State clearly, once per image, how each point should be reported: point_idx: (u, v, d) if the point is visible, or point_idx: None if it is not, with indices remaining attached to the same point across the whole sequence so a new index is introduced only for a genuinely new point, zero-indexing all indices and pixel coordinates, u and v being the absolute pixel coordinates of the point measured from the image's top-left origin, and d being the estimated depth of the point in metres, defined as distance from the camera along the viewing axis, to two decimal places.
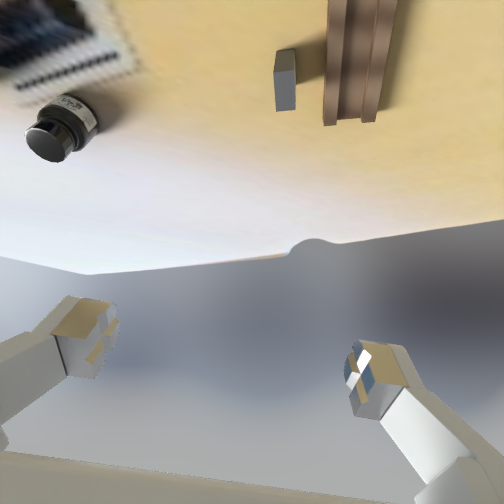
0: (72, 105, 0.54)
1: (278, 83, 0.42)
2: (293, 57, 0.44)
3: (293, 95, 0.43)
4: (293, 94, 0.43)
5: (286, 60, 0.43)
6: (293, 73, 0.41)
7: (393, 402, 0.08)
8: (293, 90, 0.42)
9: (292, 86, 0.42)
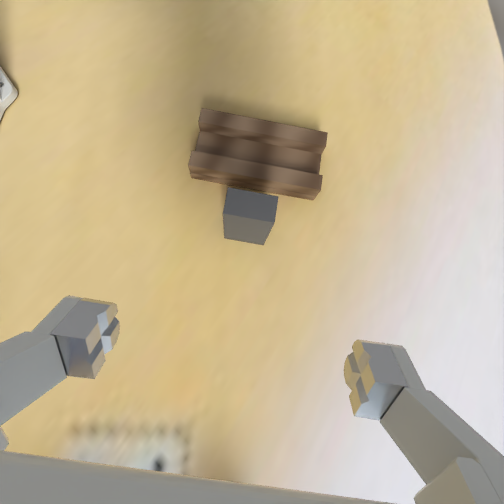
0: None
1: (237, 210, 0.30)
2: None
3: (258, 195, 0.30)
4: (257, 194, 0.30)
5: None
6: (231, 189, 0.30)
7: (393, 402, 0.08)
8: (252, 193, 0.30)
9: (246, 193, 0.30)
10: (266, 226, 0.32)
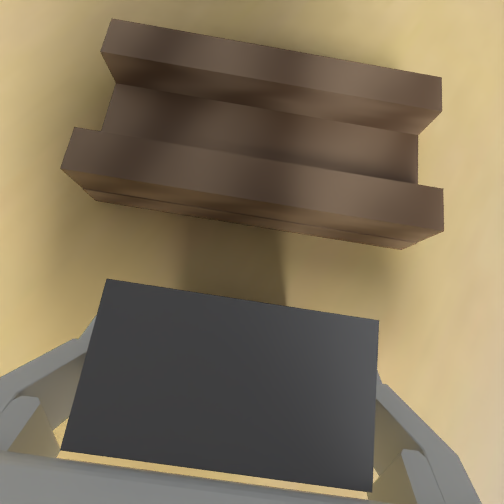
0: None
1: (150, 425, 0.05)
2: None
3: (274, 316, 0.06)
4: (267, 315, 0.06)
5: None
6: (125, 289, 0.06)
7: None
8: (239, 310, 0.06)
9: (209, 312, 0.06)
10: None
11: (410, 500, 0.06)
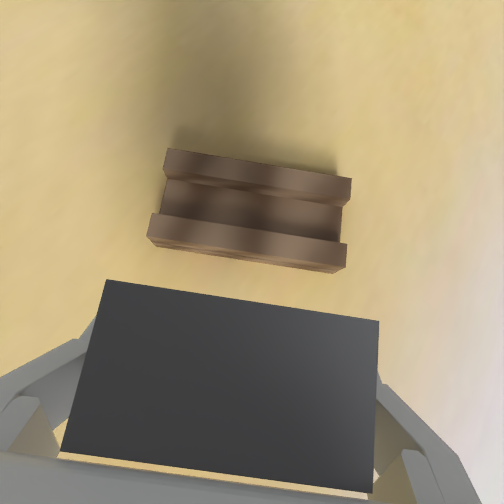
0: None
1: (150, 426, 0.05)
2: None
3: (274, 317, 0.06)
4: (267, 316, 0.06)
5: None
6: (125, 290, 0.06)
7: None
8: (239, 310, 0.06)
9: (209, 313, 0.06)
10: None
11: (410, 500, 0.06)
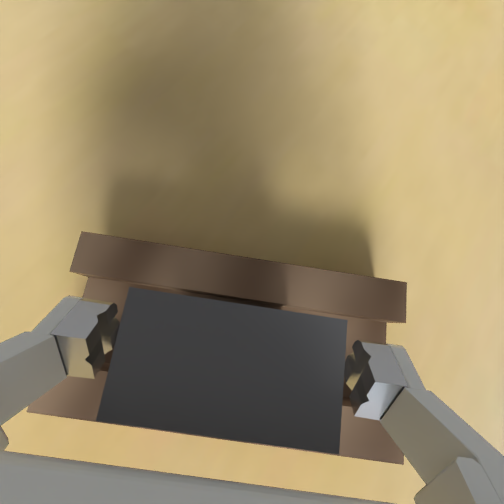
0: None
1: (165, 402, 0.06)
2: None
3: (263, 316, 0.07)
4: (258, 315, 0.07)
5: None
6: (144, 295, 0.07)
7: (393, 402, 0.08)
8: (235, 311, 0.07)
9: (211, 313, 0.07)
10: None
11: None
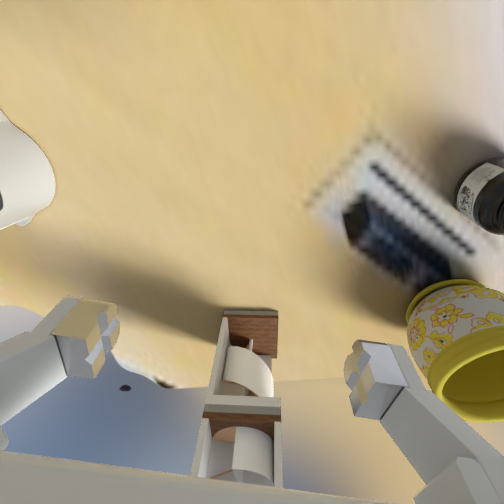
0: (467, 197, 0.39)
1: None
2: None
3: None
4: None
5: None
6: None
7: (393, 402, 0.08)
8: None
9: None
10: None
11: None
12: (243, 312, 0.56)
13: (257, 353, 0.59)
